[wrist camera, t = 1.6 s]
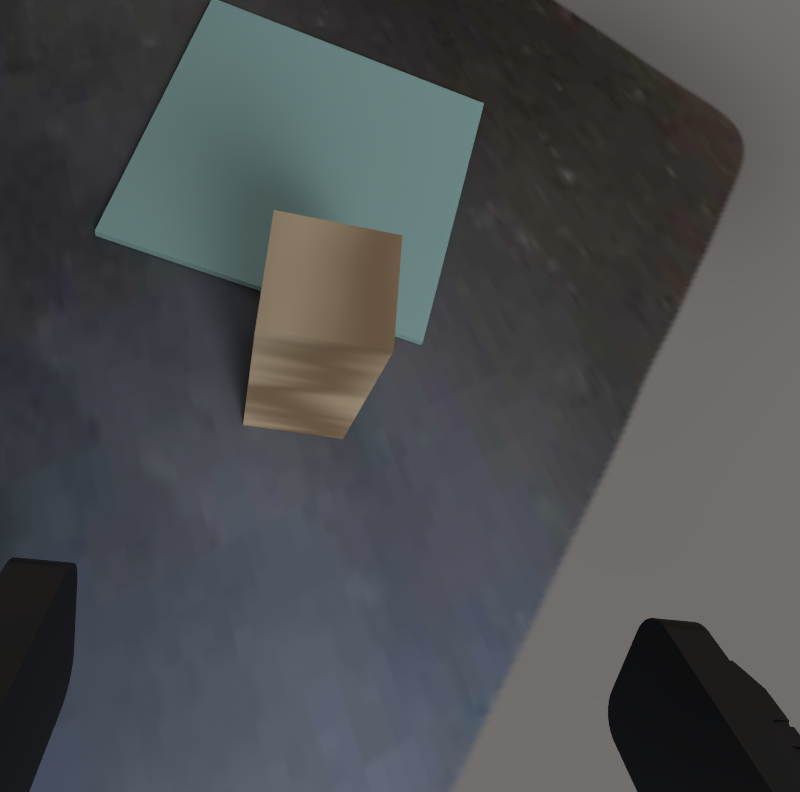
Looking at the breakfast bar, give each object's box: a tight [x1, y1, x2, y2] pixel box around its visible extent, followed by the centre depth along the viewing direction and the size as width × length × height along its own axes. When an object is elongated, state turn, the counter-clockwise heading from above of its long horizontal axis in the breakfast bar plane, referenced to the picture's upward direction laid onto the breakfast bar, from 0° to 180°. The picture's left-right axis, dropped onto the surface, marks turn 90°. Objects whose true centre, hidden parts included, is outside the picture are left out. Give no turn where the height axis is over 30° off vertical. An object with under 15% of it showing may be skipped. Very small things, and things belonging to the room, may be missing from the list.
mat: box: [95, 0, 484, 345], centre depth 37 cm, size 16×16×1 cm
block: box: [243, 210, 402, 439], centre depth 28 cm, size 4×4×10 cm
